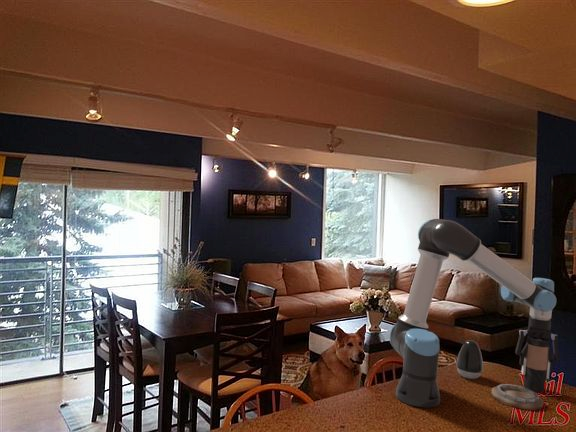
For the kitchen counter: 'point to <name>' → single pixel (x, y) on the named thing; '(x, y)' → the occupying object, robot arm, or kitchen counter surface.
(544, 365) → the travel mug
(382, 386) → the kitchen counter surface
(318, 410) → the kitchen counter surface
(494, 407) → the kitchen counter surface
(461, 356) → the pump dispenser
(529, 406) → the carrier plate
